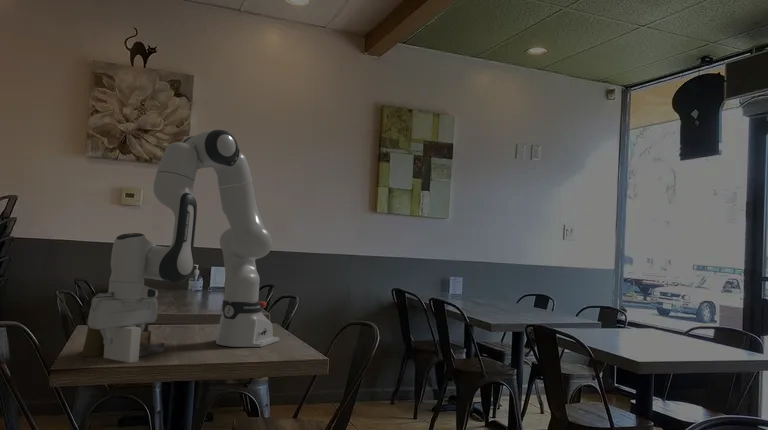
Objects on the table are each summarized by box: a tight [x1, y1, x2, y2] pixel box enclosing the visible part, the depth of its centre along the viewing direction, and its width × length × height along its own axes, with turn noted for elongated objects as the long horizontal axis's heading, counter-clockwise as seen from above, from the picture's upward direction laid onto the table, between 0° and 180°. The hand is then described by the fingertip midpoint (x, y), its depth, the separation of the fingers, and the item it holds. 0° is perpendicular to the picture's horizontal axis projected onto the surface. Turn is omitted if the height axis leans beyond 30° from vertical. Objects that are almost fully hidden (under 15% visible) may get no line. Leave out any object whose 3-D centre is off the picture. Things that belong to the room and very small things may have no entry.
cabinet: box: [139, 323, 165, 357], centre depth 168 cm, size 12×15×8 cm
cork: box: [81, 316, 105, 358], centre depth 161 cm, size 6×6×11 cm
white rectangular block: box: [103, 325, 141, 364], centre depth 158 cm, size 10×4×9 cm, turn 65°
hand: (122, 342), depth 158 cm, fingers open, 8 cm apart
